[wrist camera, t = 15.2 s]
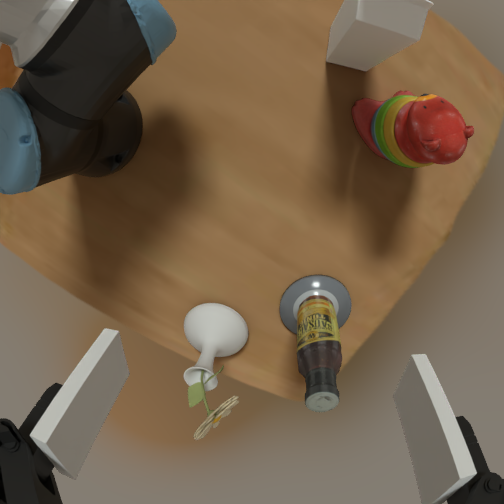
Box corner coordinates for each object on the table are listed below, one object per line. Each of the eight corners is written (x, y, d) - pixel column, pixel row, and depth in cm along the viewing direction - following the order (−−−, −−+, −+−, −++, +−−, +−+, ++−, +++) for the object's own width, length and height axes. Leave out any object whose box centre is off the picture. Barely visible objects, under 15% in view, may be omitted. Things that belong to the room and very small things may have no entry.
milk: (365, 72, 36) (435, 34, 16) (324, 61, 36) (364, 9, 16) (370, 36, 34) (436, -21, 14) (329, 25, 34) (368, -46, 14)
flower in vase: (217, 358, 57) (188, 469, 34) (173, 319, 55) (121, 427, 32) (269, 325, 53) (260, 447, 30) (224, 280, 51) (183, 396, 28)
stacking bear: (412, 88, 36) (479, 75, 20) (429, 153, 40) (498, 173, 23) (347, 101, 38) (388, 87, 22) (366, 168, 42) (415, 195, 25)
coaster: (276, 332, 54) (276, 335, 53) (283, 271, 49) (283, 274, 48) (342, 336, 53) (343, 339, 52) (356, 277, 48) (357, 279, 48)
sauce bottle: (327, 287, 48) (346, 376, 30) (338, 316, 50) (359, 407, 32) (289, 301, 50) (290, 393, 32) (302, 329, 52) (308, 422, 34)
